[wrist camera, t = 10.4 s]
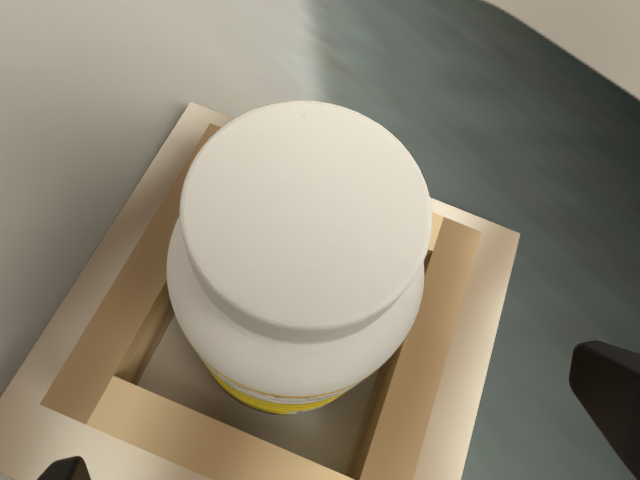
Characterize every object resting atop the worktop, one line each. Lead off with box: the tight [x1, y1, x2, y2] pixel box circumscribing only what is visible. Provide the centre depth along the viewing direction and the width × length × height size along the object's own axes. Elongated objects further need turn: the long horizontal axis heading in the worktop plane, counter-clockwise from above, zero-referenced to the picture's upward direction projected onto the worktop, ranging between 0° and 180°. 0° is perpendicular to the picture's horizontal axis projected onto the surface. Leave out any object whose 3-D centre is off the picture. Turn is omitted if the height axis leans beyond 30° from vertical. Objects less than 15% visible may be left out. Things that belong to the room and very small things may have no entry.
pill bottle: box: [167, 100, 432, 415], centre depth 14 cm, size 6×6×11 cm
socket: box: [0, 102, 520, 480], centre depth 18 cm, size 16×16×4 cm
